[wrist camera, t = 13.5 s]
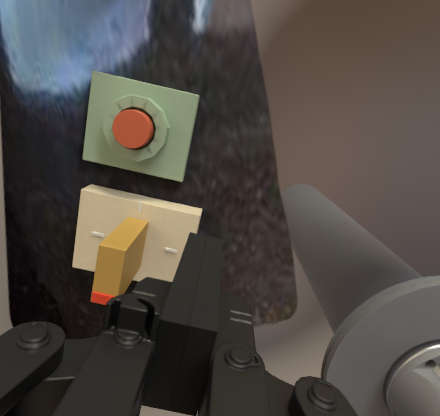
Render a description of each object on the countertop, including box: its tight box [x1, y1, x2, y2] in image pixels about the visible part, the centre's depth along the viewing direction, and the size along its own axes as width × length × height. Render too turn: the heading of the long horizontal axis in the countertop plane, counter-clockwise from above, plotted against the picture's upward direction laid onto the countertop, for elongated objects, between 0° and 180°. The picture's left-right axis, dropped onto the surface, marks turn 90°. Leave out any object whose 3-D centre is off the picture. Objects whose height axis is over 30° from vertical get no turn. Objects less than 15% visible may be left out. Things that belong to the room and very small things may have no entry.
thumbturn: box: [91, 217, 149, 305], centre depth 35 cm, size 6×2×9 cm, turn 167°
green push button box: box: [82, 71, 200, 182], centre depth 38 cm, size 12×10×3 cm
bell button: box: [112, 109, 153, 148], centre depth 36 cm, size 4×4×2 cm
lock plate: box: [72, 184, 202, 282], centre depth 41 cm, size 14×10×3 cm
